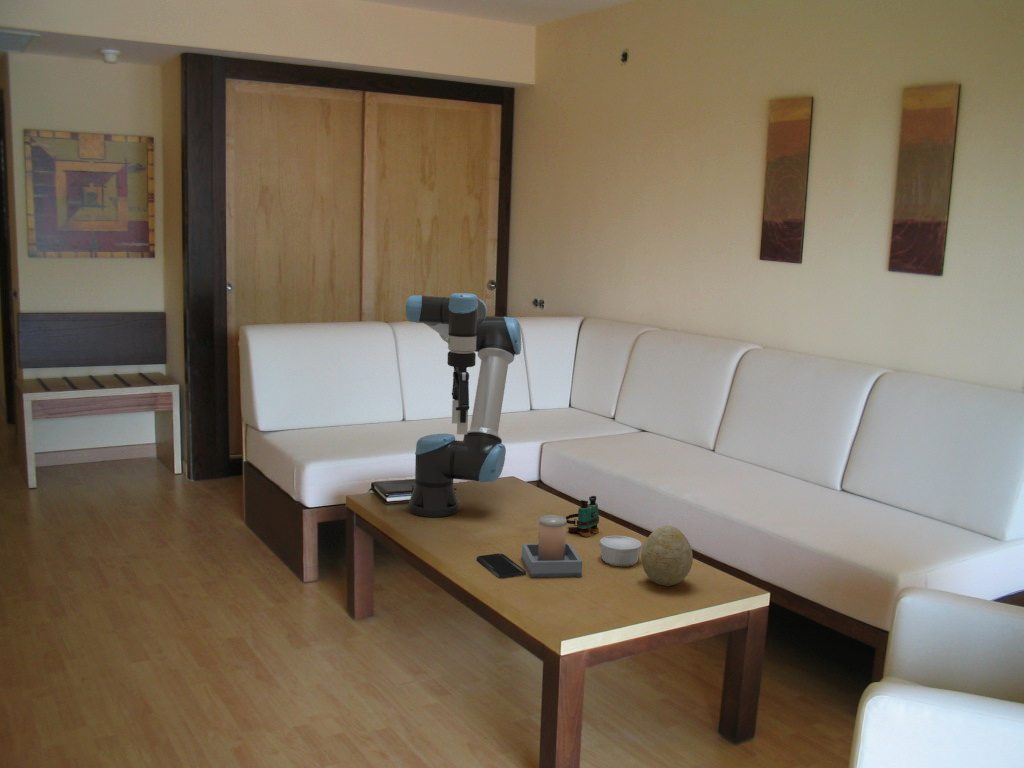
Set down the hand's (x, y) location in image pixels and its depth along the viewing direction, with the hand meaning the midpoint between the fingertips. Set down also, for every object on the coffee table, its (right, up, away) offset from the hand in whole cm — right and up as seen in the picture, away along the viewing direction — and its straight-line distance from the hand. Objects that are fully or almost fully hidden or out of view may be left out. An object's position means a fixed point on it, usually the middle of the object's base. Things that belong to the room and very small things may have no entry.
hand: (459, 428), depth 259 cm
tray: (+24, -35, -12) cm, 45 cm away
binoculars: (+34, -31, +17) cm, 49 cm away
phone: (+11, -36, -14) cm, 40 cm away
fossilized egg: (+53, -38, -21) cm, 68 cm away
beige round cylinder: (+24, -34, -13) cm, 44 cm away
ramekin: (+43, -35, -5) cm, 56 cm away
